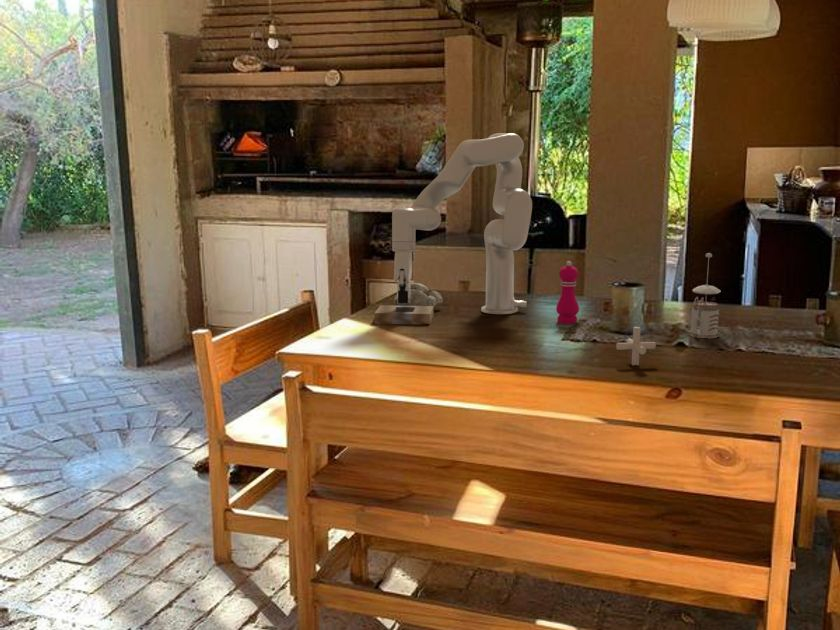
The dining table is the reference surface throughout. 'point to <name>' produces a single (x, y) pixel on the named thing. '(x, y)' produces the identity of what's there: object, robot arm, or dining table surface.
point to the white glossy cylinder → (408, 294)
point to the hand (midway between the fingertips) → (404, 301)
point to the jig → (404, 314)
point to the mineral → (422, 296)
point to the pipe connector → (636, 345)
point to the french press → (705, 310)
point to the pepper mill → (567, 295)
